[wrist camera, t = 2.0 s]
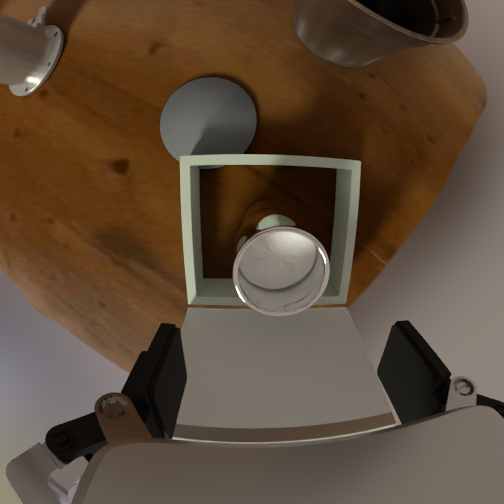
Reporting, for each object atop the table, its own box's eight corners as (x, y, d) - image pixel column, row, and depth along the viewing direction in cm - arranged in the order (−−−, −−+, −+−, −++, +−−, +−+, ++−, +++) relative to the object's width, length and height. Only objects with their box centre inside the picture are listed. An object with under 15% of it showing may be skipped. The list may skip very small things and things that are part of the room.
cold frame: (190, 156, 29) (179, 156, 25) (345, 160, 30) (360, 160, 25) (196, 285, 35) (188, 304, 30) (334, 285, 35) (345, 303, 30)
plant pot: (416, 58, 24) (491, 26, 9) (335, 106, 28) (404, 67, 12) (341, -24, 20) (379, -86, 5) (250, 13, 23) (250, -69, 8)
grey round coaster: (163, 83, 26) (161, 81, 26) (256, 78, 27) (257, 76, 26) (162, 171, 30) (160, 171, 29) (256, 168, 30) (256, 168, 29)
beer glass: (234, 199, 31) (220, 232, 17) (293, 191, 31) (330, 216, 17) (243, 256, 33) (239, 325, 19) (300, 247, 33) (334, 311, 19)
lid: (152, 433, 15) (156, 439, 16) (396, 423, 15) (391, 429, 16) (188, 307, 30) (189, 314, 30) (346, 307, 30) (344, 313, 30)
